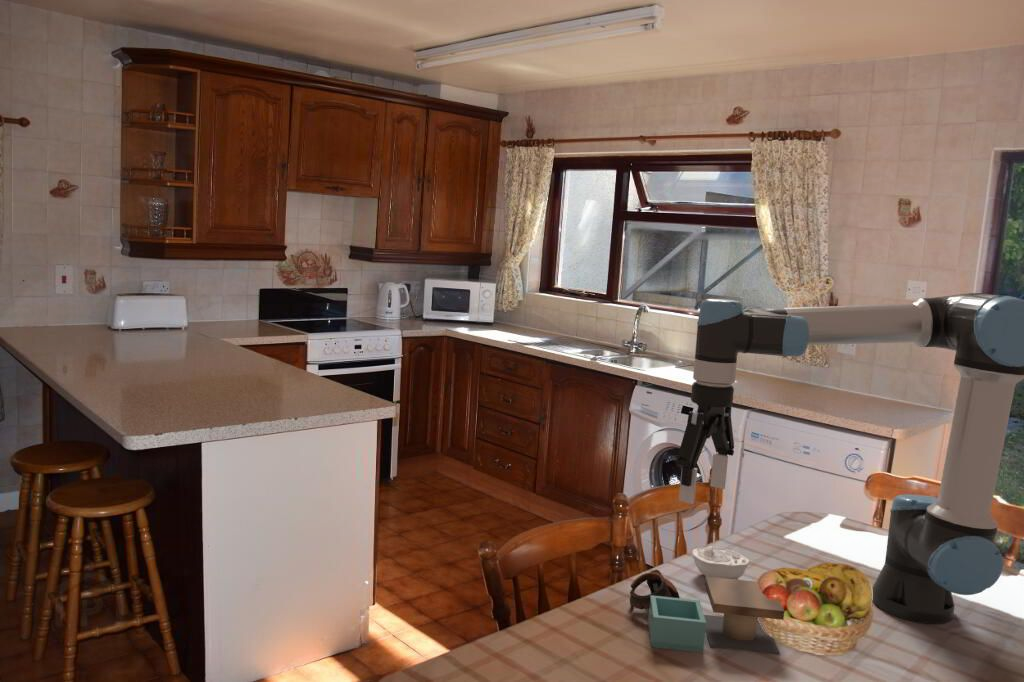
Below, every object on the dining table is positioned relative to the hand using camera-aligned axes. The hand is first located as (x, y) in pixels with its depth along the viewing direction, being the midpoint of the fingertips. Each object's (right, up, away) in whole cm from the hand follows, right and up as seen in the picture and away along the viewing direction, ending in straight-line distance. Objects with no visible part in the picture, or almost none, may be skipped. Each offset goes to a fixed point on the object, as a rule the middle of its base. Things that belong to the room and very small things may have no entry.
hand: (702, 494), depth 152 cm
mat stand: (+6, -25, -3) cm, 26 cm away
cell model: (+9, -22, +22) cm, 33 cm away
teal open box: (-6, -25, -6) cm, 26 cm away
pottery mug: (-8, -23, +6) cm, 25 cm away
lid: (+6, -19, -4) cm, 20 cm away
